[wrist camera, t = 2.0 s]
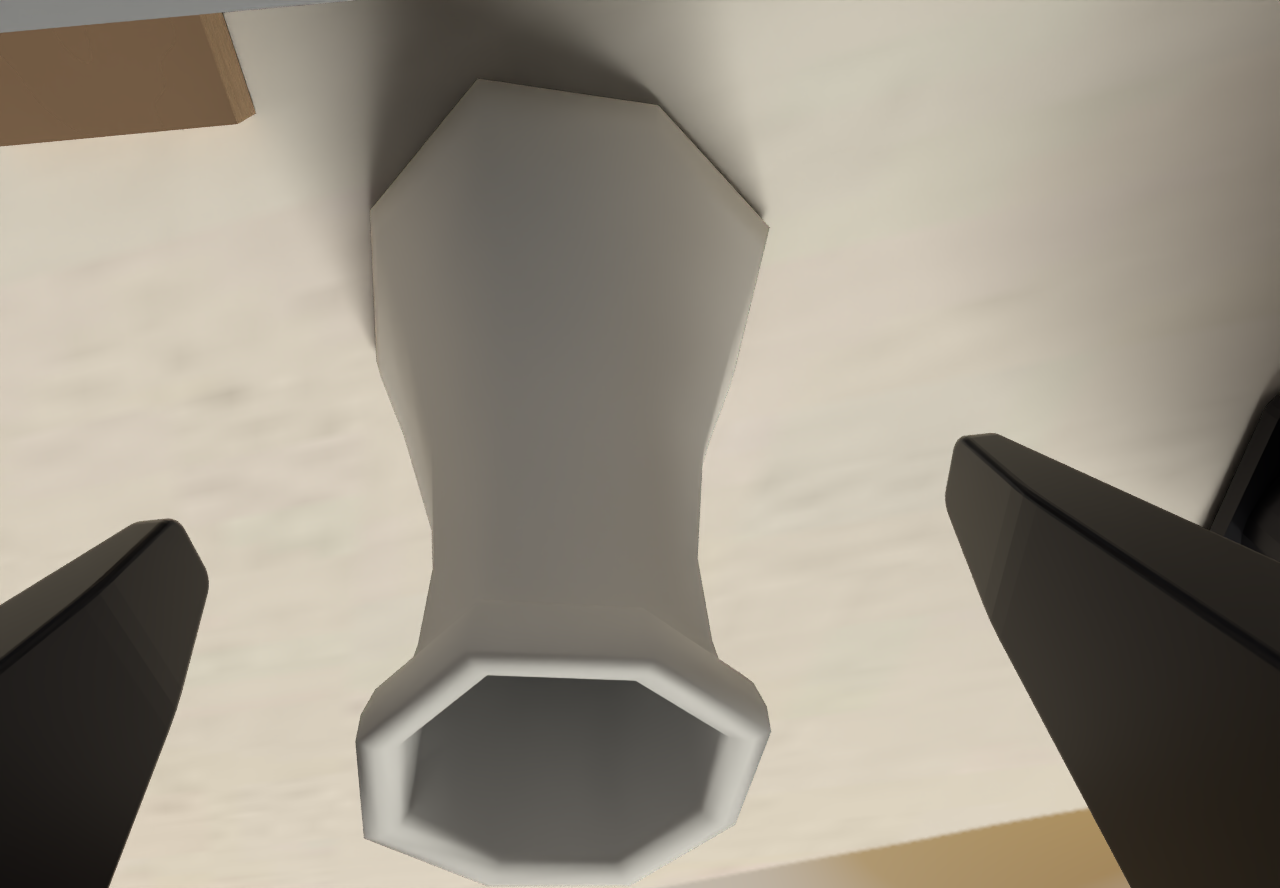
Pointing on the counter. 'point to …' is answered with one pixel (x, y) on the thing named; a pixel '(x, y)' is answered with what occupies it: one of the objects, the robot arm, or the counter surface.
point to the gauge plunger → (119, 10)
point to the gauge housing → (119, 79)
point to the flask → (560, 492)
